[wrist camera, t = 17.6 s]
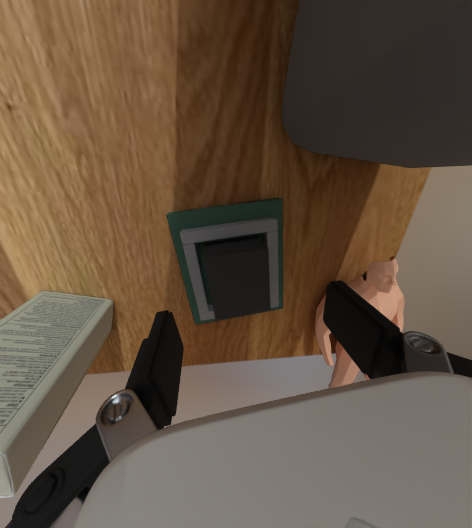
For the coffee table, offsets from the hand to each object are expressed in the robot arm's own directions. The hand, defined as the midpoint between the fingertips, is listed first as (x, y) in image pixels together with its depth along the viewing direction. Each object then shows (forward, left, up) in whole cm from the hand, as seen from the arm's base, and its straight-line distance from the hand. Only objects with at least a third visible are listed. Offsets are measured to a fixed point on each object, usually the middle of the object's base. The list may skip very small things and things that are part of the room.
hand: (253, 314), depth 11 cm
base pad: (+1, 0, -9) cm, 9 cm away
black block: (+1, 0, -8) cm, 8 cm away
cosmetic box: (+3, -16, -9) cm, 19 cm away
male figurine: (+25, +16, -8) cm, 31 cm away
